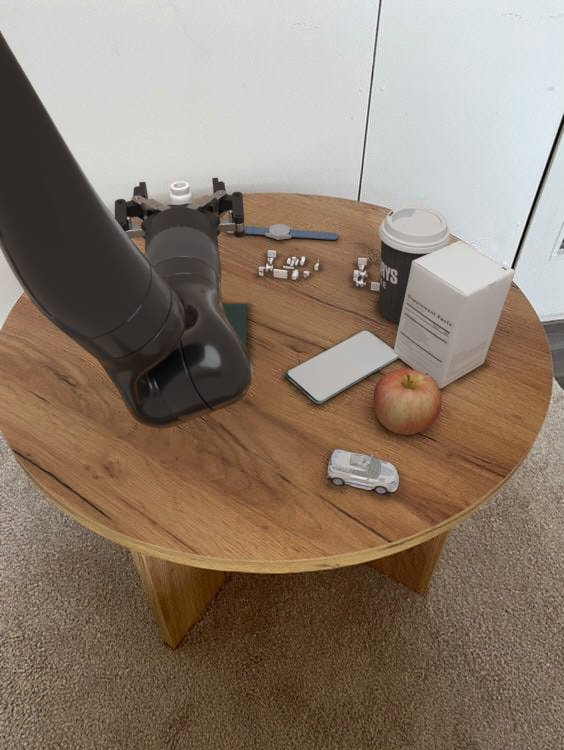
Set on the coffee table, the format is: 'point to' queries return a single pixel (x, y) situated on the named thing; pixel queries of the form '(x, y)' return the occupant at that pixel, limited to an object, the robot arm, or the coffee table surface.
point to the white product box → (451, 311)
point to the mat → (238, 319)
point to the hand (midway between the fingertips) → (179, 187)
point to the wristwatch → (287, 232)
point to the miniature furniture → (283, 273)
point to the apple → (407, 401)
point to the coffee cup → (406, 251)
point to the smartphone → (341, 366)
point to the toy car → (362, 472)
